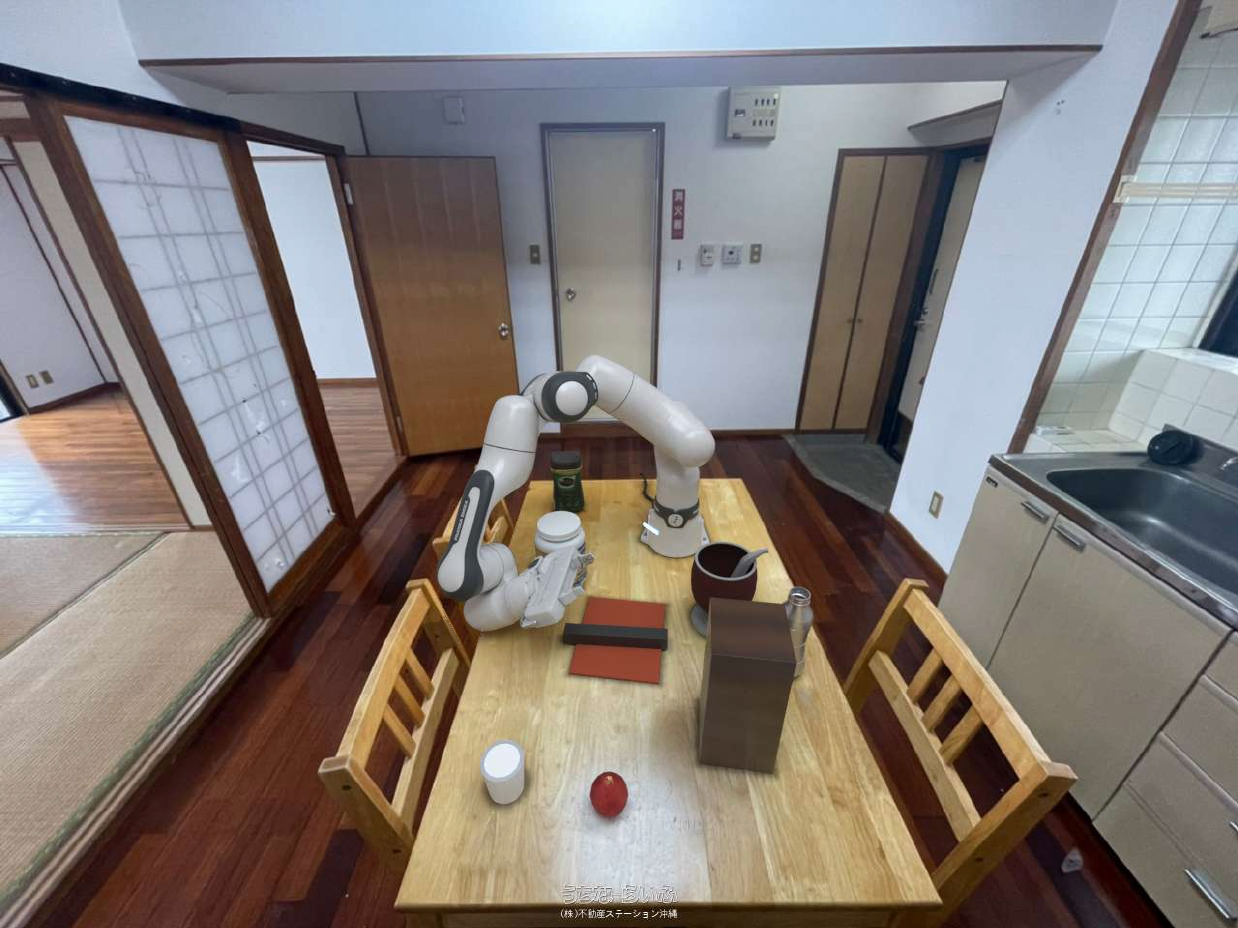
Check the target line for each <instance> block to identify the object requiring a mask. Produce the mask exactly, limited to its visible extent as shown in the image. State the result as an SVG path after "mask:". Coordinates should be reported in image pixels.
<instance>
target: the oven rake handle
mask: <svg viewBox="0 0 1238 928" xmlns="http://www.w3.org/2000/svg"><path fill="white" fill-rule="evenodd" d="M562 640H563V644H567V645H577V644H584V645H600V646H617V647H634V648H651V649H662V650H668V644H669V628H666V627H664V628H648V627H630V626H613V625H595V624H582V623H575V622H565V623H564V628H563V631H562Z"/></svg>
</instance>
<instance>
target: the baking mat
mask: <svg viewBox="0 0 1238 928" xmlns="http://www.w3.org/2000/svg"><path fill="white" fill-rule="evenodd" d="M665 615H666V603H657V602H649V601H637V600H625V599H615V598H607V597H606V598H605V597H594V596H589V598H588V601H587V605H586V609H585V612H584V616H583V619H582V622H581V624H595V625H613V626H630V627H648V628H665ZM574 648H575V649H574V652H573V656H572V660H571V663H570V666H569V669H568V675H574V676H582V677H592V678H601V679H611V680H616V681H617V680H618V681H627V682H628V681H629V682H637V683H645V684H652V685H653V684H654V685H659V684H660V674H661V661H662V650H663V649H651V648H634V647H617V646H600V645H584V644H575V647H574Z"/></svg>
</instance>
